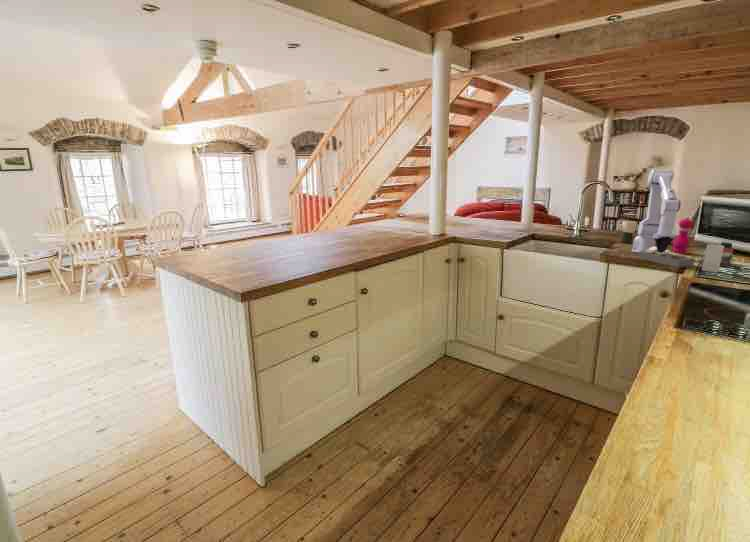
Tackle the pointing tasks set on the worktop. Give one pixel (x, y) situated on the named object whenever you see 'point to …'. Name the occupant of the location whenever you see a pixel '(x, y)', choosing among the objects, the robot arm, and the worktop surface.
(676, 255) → the right rocker
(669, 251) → the middle rocker
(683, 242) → the pepper mill
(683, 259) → the power strip
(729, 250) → the supplement bottle
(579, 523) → the worktop surface
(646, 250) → the left rocker
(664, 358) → the worktop surface
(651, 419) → the worktop surface
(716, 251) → the skincare box
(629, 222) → the character mug
